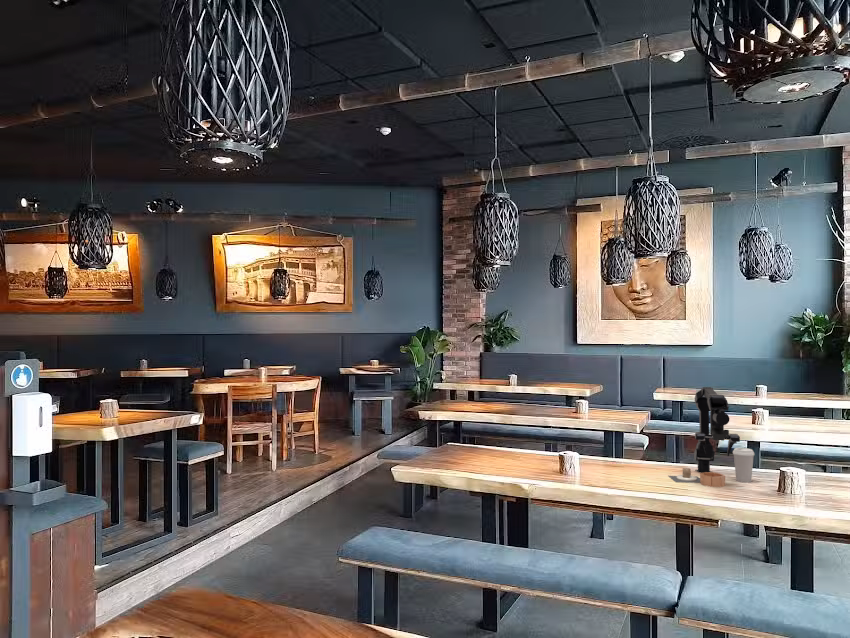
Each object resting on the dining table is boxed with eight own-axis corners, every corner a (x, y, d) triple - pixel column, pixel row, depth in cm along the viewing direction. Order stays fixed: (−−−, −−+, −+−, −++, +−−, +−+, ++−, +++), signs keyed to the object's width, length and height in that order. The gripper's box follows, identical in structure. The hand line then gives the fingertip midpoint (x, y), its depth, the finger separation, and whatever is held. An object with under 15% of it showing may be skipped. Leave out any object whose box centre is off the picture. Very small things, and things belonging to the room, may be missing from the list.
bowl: (698, 482, 305) (697, 472, 305) (720, 483, 304) (719, 472, 304) (705, 487, 295) (705, 476, 295) (727, 488, 294) (727, 477, 294)
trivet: (667, 476, 317) (667, 475, 317) (697, 477, 316) (697, 476, 316) (675, 483, 303) (675, 482, 303) (706, 484, 302) (706, 483, 302)
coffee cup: (743, 477, 315) (742, 447, 315) (759, 482, 306) (759, 450, 306) (728, 479, 312) (727, 448, 312) (744, 483, 303) (744, 451, 303)
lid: (674, 476, 314) (674, 466, 314) (693, 477, 314) (693, 467, 314) (679, 481, 305) (679, 470, 306) (699, 481, 305) (699, 471, 305)
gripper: (696, 423, 297) (696, 457, 297) (741, 425, 291) (741, 460, 290) (694, 420, 307) (695, 452, 307) (738, 421, 301) (738, 455, 301)
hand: (717, 455), depth 301 cm, fingers open, 9 cm apart
